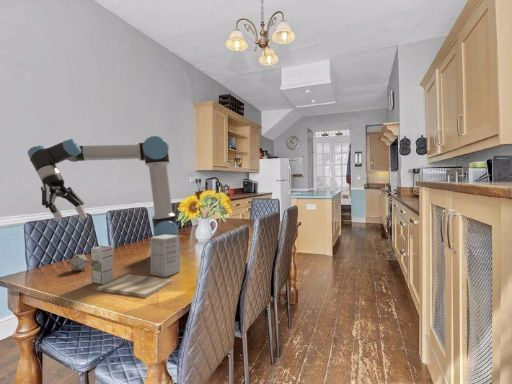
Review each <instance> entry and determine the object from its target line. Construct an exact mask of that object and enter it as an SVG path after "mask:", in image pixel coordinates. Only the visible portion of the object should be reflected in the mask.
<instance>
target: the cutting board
mask: <svg viewBox="0 0 512 384" xmlns="http://www.w3.org/2000/svg"><path fill="white" fill-rule="evenodd" d="M172 283H173V279H170V278H164V277H153V276H144V275H139V274H138V275H136V274H130V273H129V274H126V275H124V276H121V277H119V278H116V279H115V280H114V279H113V280H112V281H110V282H108V283H105V284H101V285H100V286H97V292H98V291H99V292H106V293H113V294H121V295H124V296H134V297H138V298H139V297H140V298H144V299H145V298H148V297H150V296H151V295H153V294H155V293H157V292H158V291H160V290H162V289H164V288H165V287H167V286H169V285H170V284H172Z"/></svg>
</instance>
